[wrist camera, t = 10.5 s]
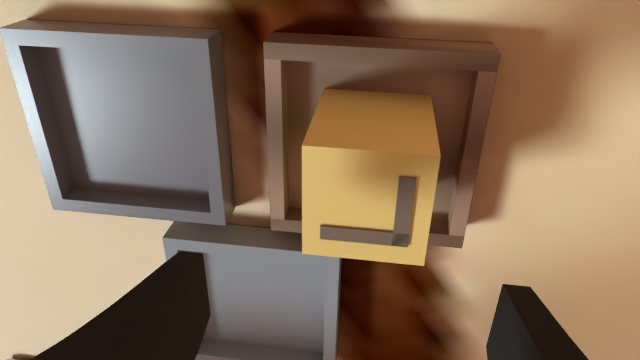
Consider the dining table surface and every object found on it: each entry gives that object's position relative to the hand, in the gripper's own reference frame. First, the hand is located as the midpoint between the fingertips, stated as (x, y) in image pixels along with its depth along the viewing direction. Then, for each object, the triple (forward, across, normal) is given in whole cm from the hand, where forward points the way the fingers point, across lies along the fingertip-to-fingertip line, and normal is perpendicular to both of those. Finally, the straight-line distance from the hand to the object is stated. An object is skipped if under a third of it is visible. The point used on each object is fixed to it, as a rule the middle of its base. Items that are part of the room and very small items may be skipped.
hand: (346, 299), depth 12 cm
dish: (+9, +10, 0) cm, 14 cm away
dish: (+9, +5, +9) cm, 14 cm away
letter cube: (+9, 0, 0) cm, 9 cm away
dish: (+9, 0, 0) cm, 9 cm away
